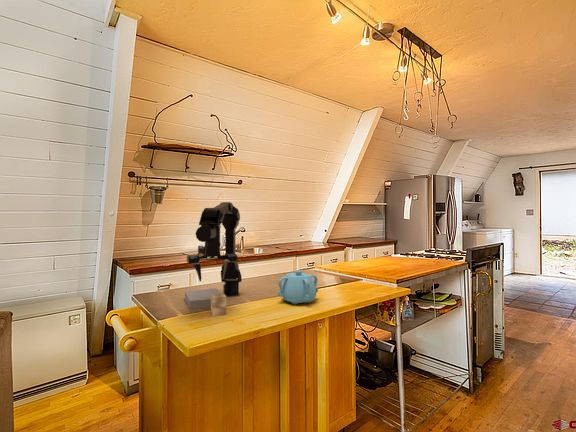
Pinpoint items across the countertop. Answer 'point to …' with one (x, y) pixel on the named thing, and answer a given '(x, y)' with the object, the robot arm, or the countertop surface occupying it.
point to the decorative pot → (298, 287)
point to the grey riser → (199, 298)
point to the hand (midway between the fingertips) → (212, 280)
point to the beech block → (218, 304)
